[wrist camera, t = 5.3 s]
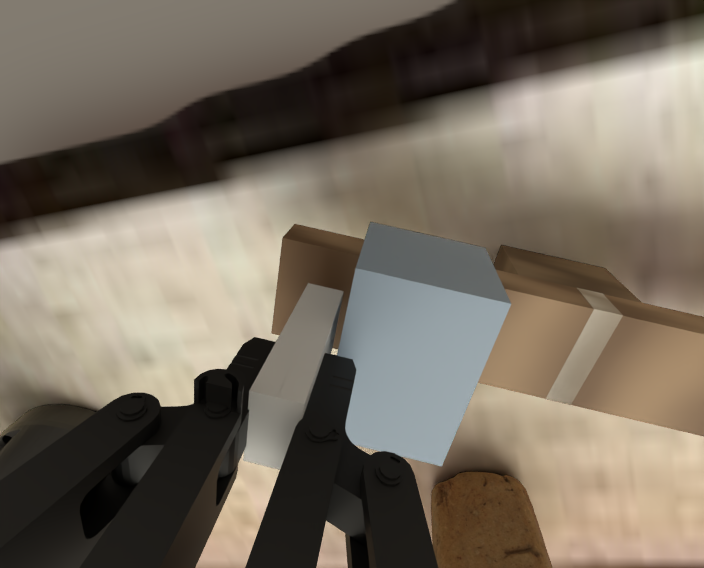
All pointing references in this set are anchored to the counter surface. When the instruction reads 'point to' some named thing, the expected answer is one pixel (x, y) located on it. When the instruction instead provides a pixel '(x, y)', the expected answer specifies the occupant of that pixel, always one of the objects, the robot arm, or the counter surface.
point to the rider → (417, 339)
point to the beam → (548, 331)
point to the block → (485, 524)
